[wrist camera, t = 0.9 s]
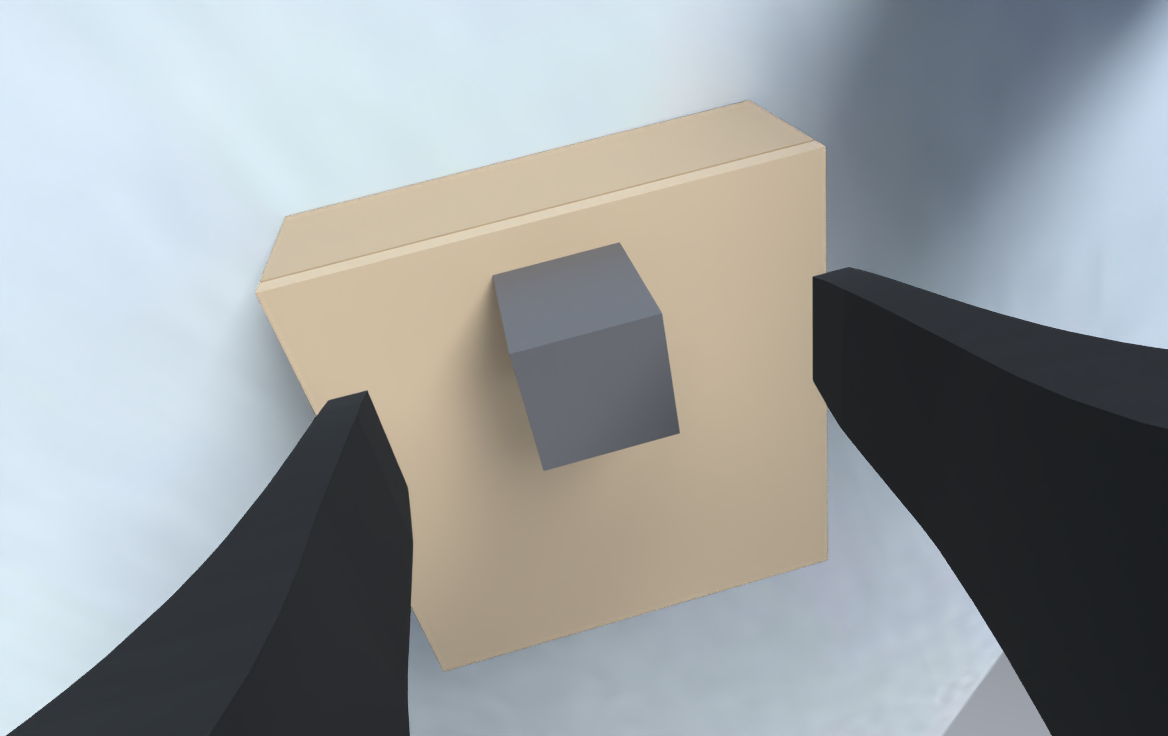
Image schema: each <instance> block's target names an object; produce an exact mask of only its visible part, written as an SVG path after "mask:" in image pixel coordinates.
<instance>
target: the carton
mask: <svg viewBox="0 0 1168 736" xmlns="http://www.w3.org/2000/svg"><path fill="white" fill-rule="evenodd" d="M812 141H814V139H812V138H811V137H809V136H808V135H806V134H804V133H803V132H801V131H799V130H798V129H796V128H794V127H793V126H791V125H789V124H788V123H786V122H784V121H783V120H781V119H780V118H778V117H776V116H775V115H773V114H771V113H770V112H768V111H766V110H765V109H763V108H761V107H760V106H758V105H757V104H755V103H753V102H752V101H750V100H748V101H744V102H740V103H736V104H732V105H728V106H724V107H720V108H716V109H712V110H708V111H704V112H700V113H696V114H692V115H688V116H684V117H680V118H676V119H672V120H668V121H664V122H660V123H656V124H652V125H648V126H644V127H640V128H636V129H632V130H628V131H624V132H620V133H616V134H612V135H608V136H604V137H600V138H597V139H593V140H589V141H585V142H581V143H577V144H573V145H569V146H565V147H561V148H557V149H553V150H549V151H545V152H541V153H537V154H533V155H529V156H525V157H521V158H517V159H513V160H509V161H505V162H501V163H497V164H493V165H489V166H485V167H481V168H477V169H473V170H469V171H465V172H461V173H457V174H453V175H449V176H445V177H441V178H437V179H433V180H430V181H426V182H422V183H418V184H414V185H410V186H406V187H402V188H398V189H394V190H390V191H386V192H382V193H378V194H374V195H370V196H366V197H362V198H358V199H354V200H350V201H346V202H342V203H338V204H334V205H330V206H326V207H322V208H318V209H314V210H310V211H306V212H302V213H298V214H294V215H290V216H286V217H285V219H284V222H283V224H282V227H281V229H280V232H279V234H278V237H277V239H276V242H275V244H274V247H273V249H272V252H271V255H270V257H269V260H268V262H267V265H266V267H265V270H264V272H263V275H262V277H261V280H260V282H261V283H262V282H266V281H270V280H274V279H277V278H281V277H285V276H289V275H293V274H297V273H301V272H305V271H309V270H313V269H316V268H320V267H324V266H328V265H332V264H336V263H340V262H344V261H348V260H352V259H356V258H359V257H363V256H367V255H371V254H375V253H379V252H383V251H387V250H391V249H395V248H398V247H402V246H406V245H410V244H414V243H418V242H422V241H426V240H430V239H434V238H437V237H441V236H445V235H449V234H453V233H457V232H461V231H465V230H469V229H473V228H477V227H480V226H484V225H488V224H492V223H496V222H500V221H504V220H508V219H512V218H516V217H519V216H523V215H527V214H531V213H535V212H539V211H543V210H547V209H551V208H555V207H558V206H562V205H566V204H570V203H574V202H578V201H582V200H586V199H590V198H594V197H598V196H601V195H605V194H609V193H613V192H617V191H621V190H625V189H629V188H633V187H637V186H640V185H644V184H648V183H652V182H656V181H660V180H664V179H668V178H672V177H676V176H679V175H683V174H687V173H691V172H695V171H699V170H703V169H707V168H711V167H715V166H719V165H722V164H726V163H730V162H734V161H738V160H742V159H746V158H750V157H754V156H758V155H761V154H765V153H769V152H773V151H777V150H781V149H785V148H789V147H793V146H797V145H800V144H804V143H808V142H812Z"/></svg>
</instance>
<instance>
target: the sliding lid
mask: <svg viewBox="0 0 1168 736" xmlns="http://www.w3.org/2000/svg"><path fill="white" fill-rule="evenodd" d="M824 273H826V146H824V145H822V144H821V143H819V142H817V141H812V142H808V143H804V144H800V145H797V146H793V147H789V148H785V149H781V150H777V151H773V152H769V153H765V154H761V155H758V156H754V157H750V158H746V159H742V160H738V161H734V162H730V163H726V164H722V165H719V166H715V167H711V168H707V169H703V170H699V171H695V172H691V173H687V174H683V175H679V176H676V177H672V178H668V179H664V180H660V181H656V182H652V183H648V184H644V185H640V186H637V187H633V188H629V189H625V190H621V191H617V192H613V193H609V194H605V195H601V196H598V197H594V198H590V199H586V200H582V201H578V202H574V203H570V204H566V205H562V206H558V207H555V208H551V209H547V210H543V211H539V212H535V213H531V214H527V215H523V216H519V217H516V218H512V219H508V220H504V221H500V222H496V223H492V224H488V225H484V226H480V227H477V228H473V229H469V230H465V231H461V232H457V233H453V234H449V235H445V236H441V237H437V238H434V239H430V240H426V241H422V242H418V243H414V244H410V245H406V246H402V247H398V248H395V249H391V250H387V251H383V252H379V253H375V254H371V255H367V256H363V257H359V258H356V259H352V260H348V261H344V262H340V263H336V264H332V265H328V266H324V267H320V268H316V269H313V270H309V271H305V272H301V273H297V274H293V275H289V276H285V277H281V278H277V279H274V280H270V281H266V282H262V283H259V285H258V288H257V290H256V293H255V294H256V296H257V298H258V300H259V302H260V304H261V306H262V308H263V310H264V312H265V314H266V316H267V318H268V320H269V322H270V324H271V326H272V328H273V330H274V332H275V334H276V336H277V338H278V340H279V342H280V344H281V346H282V348H283V350H284V352H285V354H286V356H287V358H288V360H289V362H290V364H291V366H292V368H293V370H294V372H295V374H296V376H297V378H298V380H299V382H300V384H301V386H302V388H303V390H304V392H305V394H306V396H307V398H308V400H309V402H310V404H311V406H312V408H313V410H314V412H315V414H316V416H317V415H318V413H319V412H320V410H321V409H322V408H323V406H324V405H325V404H326V403H327V401H328V400H331V399H335V398H339V397H343V396H347V395H351V394H355V393H359V392H363V391H366V390H368V393H369V395H370V398H371V400H372V402H373V405H374V407H375V410H376V412H377V414H378V417H379V419H380V422H381V424H382V426H383V429H384V431H385V434H386V436H387V438H388V441H389V443H390V445H391V448H392V450H393V453H394V455H395V457H396V460H397V462H398V465H399V467H400V469H401V472H402V474H403V477H404V479H405V481H406V484H407V486H408V491H409V501H410V511H411V521H412V533H413V567H412V591H411V607H412V609H413V611H414V613H415V615H416V617H417V619H418V621H419V623H420V625H421V627H422V629H423V631H424V633H425V635H426V637H427V639H428V641H429V643H430V645H431V647H432V649H433V651H434V653H435V655H436V657H437V659H438V661H439V663H440V665H441V667H442V669H443V671H444V672H445V671H448V670H452V669H455V668H459V667H462V666H465V665H469V664H472V663H476V662H479V661H483V660H486V659H490V658H493V657H496V656H500V655H503V654H507V653H510V652H514V651H517V650H520V649H524V648H527V647H531V646H534V645H538V644H541V643H545V642H548V641H551V640H555V639H558V638H562V637H565V636H569V635H572V634H575V633H579V632H582V631H586V630H589V629H593V628H596V627H600V626H603V625H606V624H610V623H613V622H617V621H620V620H624V619H627V618H631V617H634V616H637V615H641V614H644V613H648V612H651V611H655V610H658V609H661V608H665V607H668V606H672V605H675V604H679V603H682V602H686V601H689V600H692V599H696V598H699V597H703V596H706V595H710V594H713V593H716V592H720V591H723V590H727V589H730V588H734V587H737V586H741V585H744V584H747V583H751V582H754V581H758V580H761V579H765V578H768V577H772V576H775V575H778V574H782V573H785V572H789V571H792V570H796V569H799V568H802V567H806V566H809V565H813V564H816V563H820V562H823V561H827V560H828V536H827V405H826V403H825V401H824V399H823V398H822V396H821V394H820V392H819V391H818V389H817V387H816V385H815V384H814V382H813V326H812V277H813V276H816V275H820V274H824Z"/></svg>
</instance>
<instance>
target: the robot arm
mask: <svg viewBox="0 0 1168 736" xmlns="http://www.w3.org/2000/svg"><path fill="white" fill-rule="evenodd" d="M812 326H813V382H814V384H815V385H816V387H817V389H818V391H819V392H820V394H821V396H822V398H823V399H824V401H825V403H826V405H827V406H828V408H829V410H830V411H831V413H832V414H833V416H834V418H835V419H836V421H837V423H838V424H839V426H840V427H841V429H842V430H843V431H844V432H845V434H846V435H847V436H848V438H849V439H850V440H851V441H852V443H853V444H854V445H855V446H856V448H857V449H858V450H859V451H860V452H861V454H862V455H863V456H864V457H865V459H866V460H867V461H868V462H869V464H870V465H871V466H872V467H873V468H874V470H875V471H876V472H877V473H878V474H879V476H880V477H881V478H882V479H883V481H884V482H885V483H886V484H887V485H888V487H889V488H890V489H891V490H892V491H893V493H894V494H895V495H896V496H897V497H898V499H899V500H900V501H901V502H902V504H903V505H904V506H905V507H906V508H907V510H908V511H909V512H910V513H911V514H912V516H913V517H914V518H915V519H916V520H917V522H918V523H919V524H920V525H921V527H922V528H923V529H924V531H925V532H926V533H927V535H928V536H929V537H930V539H931V540H932V541H933V542H934V544H935V545H936V546H937V548H938V549H939V551H940V552H941V554H942V555H943V557H944V558H945V560H946V561H947V563H948V564H949V566H950V567H951V569H952V570H953V572H954V573H955V575H956V577H957V578H958V580H959V581H960V583H961V584H962V586H963V587H964V589H965V590H966V592H967V593H968V595H969V596H970V598H971V599H972V601H973V603H974V604H975V606H976V607H977V609H978V611H979V612H980V614H981V616H982V617H983V619H984V620H985V622H986V624H987V625H988V627H989V629H990V630H991V632H992V633H993V635H994V637H995V638H996V640H997V642H998V643H999V645H1000V646H1001V648H1002V650H1003V651H1004V653H1005V655H1006V656H1007V658H1008V660H1009V661H1010V663H1011V665H1012V667H1013V668H1014V670H1015V672H1016V674H1017V675H1018V677H1019V679H1020V681H1021V682H1022V684H1023V686H1024V687H1025V689H1026V691H1027V693H1028V694H1029V696H1030V698H1031V700H1032V701H1033V703H1034V705H1035V706H1036V708H1037V710H1038V712H1039V714H1040V715H1041V717H1042V719H1043V721H1044V722H1045V724H1046V726H1047V728H1048V729H1049V731H1050V733H1051V735H1052V736H1168V349H1161V348H1154V347H1148V346H1142V345H1136V344H1130V343H1124V342H1118V341H1113V340H1108V339H1103V338H1098V337H1094V336H1089V335H1084V334H1079V333H1074V332H1069V331H1065V330H1060V329H1056V328H1052V327H1048V326H1044V325H1040V324H1036V323H1032V322H1029V321H1025V320H1021V319H1018V318H1014V317H1010V316H1006V315H1003V314H999V313H996V312H992V311H989V310H986V309H982V308H979V307H976V306H973V305H969V304H966V303H963V302H960V301H957V300H954V299H950V298H947V297H944V296H941V295H938V294H935V293H932V292H929V291H926V290H923V289H920V288H917V287H914V286H911V285H908V284H905V283H902V282H899V281H896V280H893V279H890V278H886V277H883V276H880V275H877V274H873V273H870V272H867V271H863V270H859V269H854V268H850V267H848V268H844V269H840V270H836V271H832V272H828V273H824V274H820V275H816V276H813V277H812ZM412 567H413V533H412V521H411V511H410V501H409V491H408V486H407V484H406V481H405V479H404V477H403V474H402V472H401V469H400V467H399V465H398V462H397V460H396V457H395V455H394V453H393V450H392V448H391V445H390V443H389V441H388V438H387V436H386V434H385V431H384V429H383V426H382V424H381V422H380V419H379V417H378V414H377V412H376V410H375V407H374V405H373V402H372V400H371V398H370V395H369V393H368V390H366V391H363V392H359V393H355V394H351V395H347V396H343V397H339V398H335V399H331V400H328V401H327V403H326V404H325V405H324V406H323V408H322V409H321V410H320V412H319V413H318V415H317V416H316V418H315V419H314V420H313V422H312V423H311V425H310V426H309V428H308V429H307V431H306V432H305V434H304V435H303V436H302V438H301V439H300V441H299V442H298V444H297V445H296V447H295V448H294V450H293V451H292V452H291V454H290V455H289V457H288V458H287V459H286V461H285V462H284V464H283V465H282V466H281V468H280V469H279V470H278V472H277V473H276V475H275V476H274V477H273V479H272V480H271V482H270V483H269V484H268V486H267V487H266V488H265V490H264V491H263V492H262V493H261V495H260V496H259V497H258V499H257V500H256V501H255V502H254V504H253V505H252V506H251V507H250V509H249V510H248V511H247V512H246V514H245V515H244V516H243V517H242V519H241V520H240V521H239V522H238V524H237V525H236V526H235V527H234V529H233V530H232V531H231V532H230V534H229V535H228V536H227V537H226V538H225V540H224V541H223V542H222V543H221V544H220V545H219V547H218V548H217V549H216V550H215V551H214V552H213V553H212V554H211V556H210V557H209V558H208V559H207V560H206V561H205V562H204V563H203V564H202V565H201V566H200V568H199V569H198V570H197V571H196V572H195V573H194V574H193V575H192V576H191V577H190V578H189V579H188V580H187V581H186V582H185V583H184V584H183V585H182V586H181V587H180V588H179V589H178V590H177V591H176V592H175V593H174V594H173V595H172V596H171V597H170V598H169V599H168V600H167V601H166V602H165V603H164V604H163V605H162V606H161V607H160V608H159V609H158V610H157V611H156V612H154V613H153V614H152V615H151V616H150V617H149V618H148V619H147V620H146V621H145V622H143V623H142V624H141V625H140V626H139V627H138V628H137V629H136V630H135V631H134V632H133V633H131V634H130V635H129V636H128V637H127V638H126V639H125V640H124V641H123V642H122V643H120V644H119V645H118V646H117V647H116V648H115V649H114V650H113V651H112V652H111V653H110V654H108V655H107V656H106V657H105V658H104V659H103V660H101V661H100V662H99V663H98V664H97V665H95V666H94V667H93V668H92V669H91V670H89V671H88V672H87V673H86V674H85V675H83V676H82V677H81V678H80V679H78V680H77V681H76V682H75V683H74V684H72V685H71V686H70V687H69V688H67V689H66V690H65V691H64V692H62V693H61V694H60V695H59V696H57V697H56V698H55V699H53V700H52V701H51V702H50V703H48V704H47V705H46V706H44V707H43V708H42V709H41V710H39V711H38V712H37V713H35V714H34V715H33V716H32V717H30V718H29V719H28V720H26V721H25V722H24V723H22V724H21V725H20V726H18V727H17V728H16V729H14V730H13V731H12V732H10V733H9V734H8V735H6V736H410V732H409V716H408V654H409V633H410V612H411V591H412Z"/></svg>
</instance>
